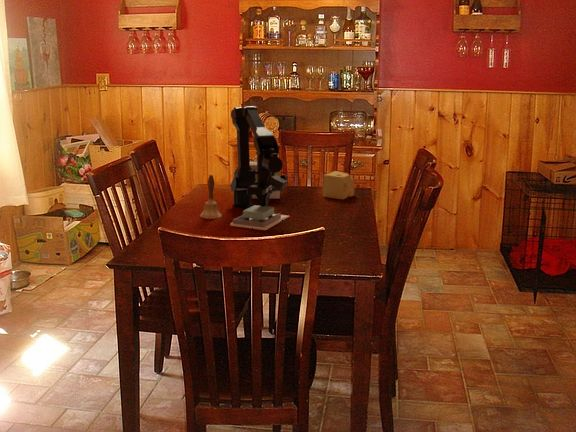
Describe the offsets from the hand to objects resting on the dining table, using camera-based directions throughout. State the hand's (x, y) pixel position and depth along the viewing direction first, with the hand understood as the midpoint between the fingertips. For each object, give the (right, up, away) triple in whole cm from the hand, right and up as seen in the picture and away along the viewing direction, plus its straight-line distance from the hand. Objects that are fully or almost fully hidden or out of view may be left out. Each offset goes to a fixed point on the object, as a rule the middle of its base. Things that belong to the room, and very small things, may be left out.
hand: (264, 209), depth 261 cm
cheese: (+31, +6, +42) cm, 53 cm away
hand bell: (-21, -3, +4) cm, 21 cm away
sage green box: (-2, -4, -5) cm, 7 cm away
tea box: (-2, +6, +39) cm, 39 cm away
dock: (-1, -4, -2) cm, 5 cm away
